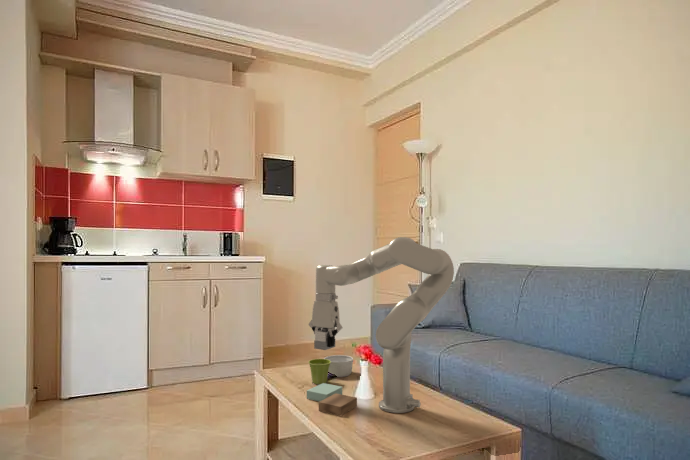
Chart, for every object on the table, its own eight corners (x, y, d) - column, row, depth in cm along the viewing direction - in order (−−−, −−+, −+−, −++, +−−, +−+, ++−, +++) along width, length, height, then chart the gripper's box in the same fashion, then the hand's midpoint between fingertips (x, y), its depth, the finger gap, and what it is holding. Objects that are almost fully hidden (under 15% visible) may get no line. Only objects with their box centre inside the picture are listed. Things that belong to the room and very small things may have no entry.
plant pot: (330, 385, 188) (330, 364, 189) (307, 385, 189) (307, 364, 189) (331, 379, 198) (331, 358, 198) (309, 379, 198) (309, 358, 198)
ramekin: (319, 376, 202) (319, 360, 202) (329, 368, 214) (329, 353, 214) (348, 379, 198) (348, 363, 198) (356, 371, 210) (357, 356, 210)
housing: (335, 346, 177) (335, 327, 177) (325, 350, 171) (325, 330, 171) (324, 345, 179) (324, 326, 180) (314, 348, 173) (314, 329, 174)
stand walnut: (356, 406, 165) (356, 397, 165) (340, 415, 155) (340, 406, 155) (335, 401, 169) (335, 393, 169) (318, 410, 160) (318, 402, 160)
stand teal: (342, 394, 177) (342, 386, 177) (326, 403, 168) (326, 394, 168) (323, 390, 182) (323, 383, 182) (306, 398, 173) (306, 390, 173)
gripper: (349, 298, 175) (349, 346, 174) (312, 295, 183) (312, 341, 183) (339, 300, 168) (339, 350, 168) (301, 297, 177) (301, 344, 176)
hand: (325, 345), depth 175 cm, fingers closed on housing, 5 cm apart
